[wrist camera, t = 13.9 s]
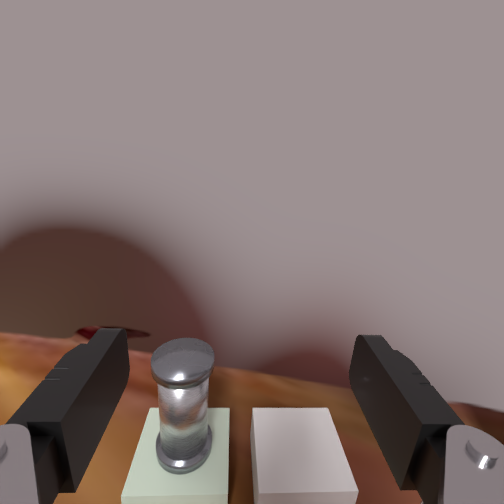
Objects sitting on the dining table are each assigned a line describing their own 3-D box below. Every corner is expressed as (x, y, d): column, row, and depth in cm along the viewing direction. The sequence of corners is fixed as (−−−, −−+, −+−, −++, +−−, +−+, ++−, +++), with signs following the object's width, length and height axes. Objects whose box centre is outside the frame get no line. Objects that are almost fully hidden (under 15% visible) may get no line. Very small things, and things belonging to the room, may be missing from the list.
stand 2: (322, 436, 40) (327, 407, 38) (350, 523, 30) (358, 491, 29) (250, 436, 39) (252, 407, 38) (255, 526, 30) (259, 493, 28)
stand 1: (227, 436, 39) (229, 407, 37) (226, 527, 29) (228, 494, 28) (151, 437, 38) (150, 407, 37) (125, 530, 29) (120, 496, 27)
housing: (213, 422, 35) (216, 338, 31) (209, 474, 29) (212, 379, 26) (163, 422, 35) (159, 337, 31) (149, 475, 29) (142, 378, 25)
